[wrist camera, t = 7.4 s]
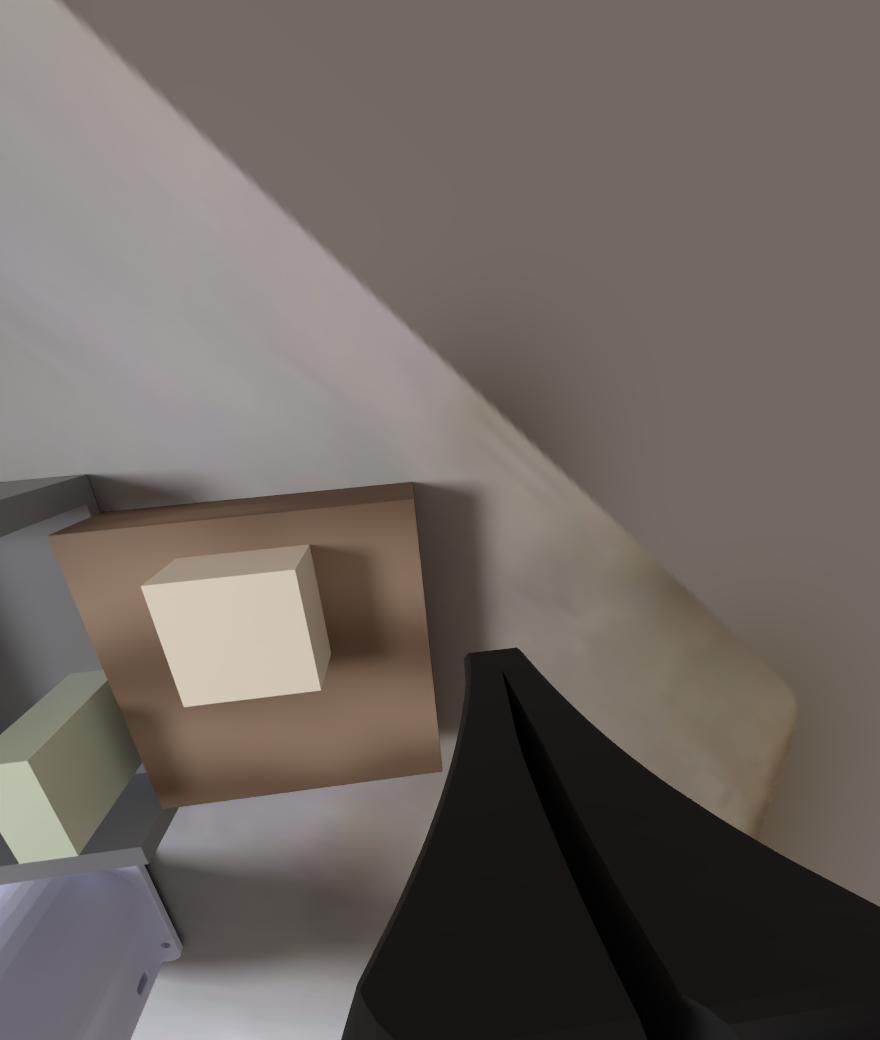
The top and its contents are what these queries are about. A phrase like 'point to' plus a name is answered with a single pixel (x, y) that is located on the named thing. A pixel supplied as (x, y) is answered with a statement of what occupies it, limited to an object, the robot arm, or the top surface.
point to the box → (58, 664)
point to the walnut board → (278, 719)
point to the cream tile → (241, 624)
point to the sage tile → (63, 768)
